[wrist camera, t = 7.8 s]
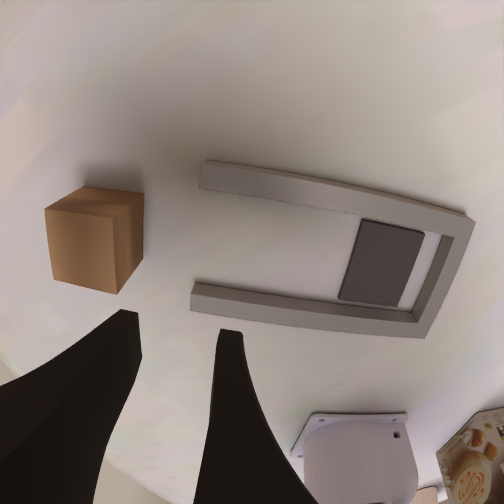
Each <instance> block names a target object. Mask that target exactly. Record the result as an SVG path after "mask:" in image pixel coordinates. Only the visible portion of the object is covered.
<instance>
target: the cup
mask: <svg viewBox="0 0 504 504" xmlns="http://www.w3.org/2000/svg"><path fill="white" fill-rule="evenodd" d="M410 504H438V503H437V489H436V487H428V488H424V489H421V490H418V491H417V492H416V495H415V497H414V499H413V500H412V502H411V503H410Z"/></svg>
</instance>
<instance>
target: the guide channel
mask: <svg viewBox="0 0 504 504" xmlns="http://www.w3.org/2000/svg"><path fill="white" fill-rule="evenodd" d="M199 189H204V190H212V191H219V192H226V193H232V194H239V195H246V196H252V197H258V198H264V199H271V200H277V201H283V202H288V203H294V204H300V205H305V206H311V207H316V208H322V209H327V210H332V211H338V212H343V213H348V214H353V215H358V216H363V217H368V218H373V219H377V220H382V221H387V222H391V223H396V224H400V225H405V226H409V227H414V228H418V229H422V230H427V231H431V232H435V233H439V234H443V237H442V240H441V242H440V245H439V248H438V251H437V253H436V256H435V259H434V261H433V264H432V266H431V269H430V271H429V274H428V276H427V278H426V281H425V283H424V286H423V288H422V290H421V292H420V295H419V297H418V299H417V301H416V304H415V306H414V308H413V310H412V312H402V311H393V310H384V309H375V308H367V307H359V306H350V305H342V304H335V303H327V302H319V301H312V300H305V299H297V298H290V297H283V296H277V295H270V294H263V293H256V292H250V291H244V290H237V289H231V288H225V287H219V286H212V285H206V284H201V283H195V284H194V287H193V290H192V292H191V301H190V311H195V312H200V313H206V314H212V315H218V316H224V317H230V318H236V319H243V320H249V321H256V322H263V323H270V324H277V325H285V326H293V327H301V328H309V329H317V330H326V331H335V332H345V333H355V334H366V335H378V336H391V337H405V338H421V339H425V337H426V335H427V333H428V331H429V329H430V327H431V325H432V324H433V322H434V320H435V318H436V316H437V314H438V312H439V310H440V308H441V306H442V304H443V301H444V299H445V297H446V295H447V293H448V291H449V289H450V286H451V284H452V282H453V280H454V277H455V275H456V273H457V270H458V268H459V265H460V263H461V261H462V258H463V256H464V253H465V251H466V248H467V245H468V243H469V240H470V237H471V234H472V232H473V229H474V226H475V223H476V222H475V221H474V220H472V219H471V218H470V217H468V216H467V215H465V214H462V213H458V212H455V211H452V210H448V209H445V208H441V207H438V206H434V205H431V204H427V203H423V202H420V201H416V200H412V199H408V198H404V197H400V196H396V195H392V194H388V193H384V192H380V191H376V190H372V189H367V188H363V187H358V186H354V185H349V184H345V183H340V182H335V181H330V180H325V179H320V178H315V177H310V176H305V175H299V174H294V173H288V172H283V171H277V170H271V169H265V168H258V167H252V166H245V165H239V164H232V163H224V162H217V161H209V160H206V161H205V162H204V163H203V164H202V165H201V174H200V184H199Z"/></svg>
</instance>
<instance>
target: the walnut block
mask: <svg viewBox="0 0 504 504" xmlns="http://www.w3.org/2000/svg"><path fill="white" fill-rule="evenodd" d="M143 214H144V194H142V193H134V192H126V191H118V190H109V189H101V188H92V187H82V188H80V189H78V190H76V191H74V192H73V193H71V194H69V195H67V196H65V197H64V198H62V199H60V200H58V201H57V202H55V203H53V204H52V205H50V206H48V207H46V208H45V220H46V230H47V238H48V246H49V253H50V260H51V266H52V272H53V278H54V280H58V281H62V282H66V283H70V284H74V285H78V286H82V287H86V288H90V289H94V290H99V291H103V292H107V293H112V294H116V295H117V294H118V293H119V291H120V290H121V288H122V287H123V286H124V284H125V283H126V281H127V280H128V279H129V277H130V276H131V274H132V273H133V272H134V270H135V269H136V268H137V266H138V265H139V264H140V262H141V261H142V260H143Z"/></svg>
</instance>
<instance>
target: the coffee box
mask: <svg viewBox="0 0 504 504" xmlns="http://www.w3.org/2000/svg"><path fill="white" fill-rule="evenodd" d="M436 457H437V460H438V464H439V467H440V470H441V474H442V477H443V481H444V485H445V489H446V493H447V496H448V500H449V504H504V408H500V409H495V410H489V411H484V412H478V413H477V414H475V415H474V416H473V417H472V418H471V419H470V420H469V422H468V423H467V424H466V425H465V426H464V427H463V428H462V429H461V430H460V431H459V432H458V433H457V434H456V435H455V436H454V437H453V438H452V439H451V440H450V441H449V442H448V443H447V444H446V445H445V446H443V447H442V448H441V449H440V450H439V451H438V452H437V453H436Z"/></svg>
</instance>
